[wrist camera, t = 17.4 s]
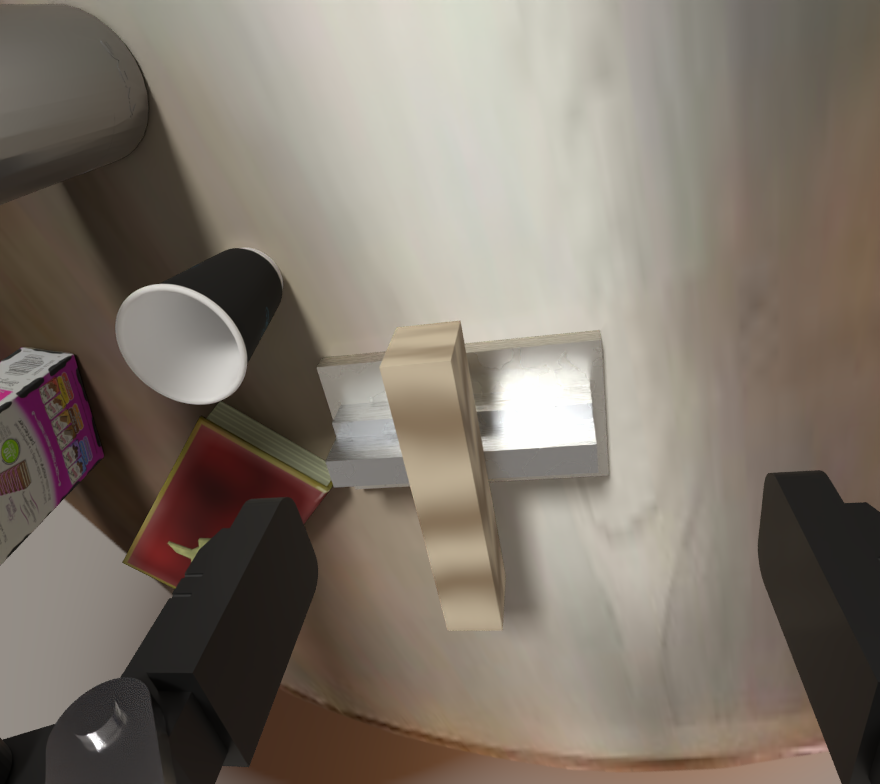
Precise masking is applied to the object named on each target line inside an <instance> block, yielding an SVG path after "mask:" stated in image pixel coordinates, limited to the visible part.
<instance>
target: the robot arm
mask: <svg viewBox="0 0 880 784" xmlns="http://www.w3.org/2000/svg"><path fill="white" fill-rule="evenodd" d="M148 110H149V107H148V97H147V91H146V87H145V84H144V80H143V77H142V74H141V72H140V70H139V67H138V65H137V63H136V61H135V59H134V57H133V56H132V54H131V53H130V51H129V50H128V48H127V47H126V45H125V44H124V42H123V41H122V40H121V39H120V38H119V37H118V36H117V35H116V34H115V33H114V32H113V31H112V29H111V28H109V27H108V26H107V25H105V24H104V23H103V22H102V21H100V20H99V19H98V18H96V17H95V16H93V15H91V14H89V13H87V12H85V11H83V10H81V9H79V8H75V7H71V6H68V5H59V4H0V205H1V204H4V203H7V202H9V201H12V200H14V199H17V198H20V197H22V196H25V195H28V194H30V193H33V192H35V191H38V190H41V189H43V188H46V187H49V186H51V185H54V184H56V183H59V182H62V181H64V180H67V179H69V178H72V177H75V176H77V175H80V174H83V173H86V172H88V171H91V170H94V169H96V168H99V167H102V166H104V165H107V164H109V163H112V162H115V161H117V160H119V159H121V158H123V157H125V156H127V155H128V154H130V153H131V152H132V151H133V150H134V149H135V148H136V147H137V146H138V144H139V142H140V141H141V139H142V138H143V135H144V132H145V129H146V126H147V122H148ZM758 558H759V565H760V570H761V575H762V578H763V582H764V585H765V587H766V590H767V592H768V595H769V598H770V600H771V603H772V605H773V608H774V610H775V613H776V616H777V618H778V621H779V623H780V626H781V629H782V631H783V634H784V636H785V639H786V641H787V644H788V647H789V649H790V652H791V654H792V657H793V659H794V662H795V665H796V667H797V670H798V672H799V675H800V677H801V680H802V683H803V685H804V688H805V690H806V693H807V695H808V698H809V701H810V703H811V706H812V708H813V711H814V714H815V716H816V719H817V721H818V724H819V726H820V729H821V732H822V734H823V737H824V739H825V742H826V744H827V747H828V750H829V752H830V755H831V757H832V760H833V762H834V765H835V767H836V770H837V773H838V775H839V778H840V780H841V783H842V784H880V512H879V511H877V510H876V509H875V508H873V507H872V506H871V505H869V504H868V503H867V502H864V503H844V502H843V500H842V499H841V497H840V495H839V494H838V492H837V490H836V489H835V487H834V485H833V484H832V482H831V481H830V479H829V477H828V476H827V475H826V474H825V473H824V472H823V471H820V470H817V471H798V472H779V473H768V474H767V476H766V478H765V482H764V491H763V500H762V510H761V519H760V528H759V538H758ZM317 579H318V565H317V559H316V555H315V553H314V550H313V547H312V545H311V542H310V540H309V537H308V534H307V532H306V529H305V527H304V524H303V521H302V519H301V516H300V514H299V511H298V508H297V506H296V504H295V502H294V501H293V500H292V499H291V498H290V497H279V498H260V499H249V500H248V501H246V502H245V503H244V505H243V506H242V508H241V510H240V512H239V513H238V515H237V517H236V518H235V520H234V522H233V524H232V525H231V527H230V528H222V529H221V530H220V531H219V532H218V533H217V534H216V535H214V536H213V537H212V538H211V539H210V540H209V541H208V542H207V543H206V544H205V545H204V546H203V547H201V548H200V549H199V551H198V552H197V554H196V556H195V557H194V559H193V561H192V562H191V564H190V565H189V567H188V569H187V570H186V572H185V577H184V578H181V580H180V582H179V583H178V585H177V587H176V588H175V590H174V591H173V593H172V594H173V597H172V598H170V599H169V600H168V601H167V603H166V605H165V606H164V608H163V609H162V611H161V613H160V614H159V616H158V617H157V619H156V621H155V622H154V624H153V626H152V627H151V629H150V630H149V632H148V634H147V635H146V637H145V639H144V640H143V642H142V644H141V645H140V647H139V648H138V650H137V652H136V653H135V655H134V657H133V658H132V660H131V662H130V663H129V665H128V666H127V668H126V670H125V671H124V673H123V674H122V676H121V677H120V678H117V679H112V680H109V681H106V682H104V683H101V684H99V685H97V686H95V687H94V688H92V689H90V690H89V691H87V692H86V693H84V694H83V695H81V696H80V697H79V698H78V699H77V700H75V701H74V702H73V703H72V704H71V705H70V706H69V707H68V708H67V709H66V710H65V712H64V713H63V714H62V715H61V717H60V718H59V719H58V721H57V722H56V724H53V725H50V726H46V727H43V728H40V729H37V730H33V731H30V732H27V733H23V734H20V735H17V736H13V737H10V738H7V739H3V740H2V739H1V738H0V784H215V782H216V780H217V777H218V775H219V772H220V770H221V768H222V766H238V767H240V766H241V767H249V765H250V763H251V760H252V758H253V755H254V752H255V750H256V747H257V744H258V741H259V739H260V736H261V734H262V731H263V728H264V726H265V723H266V720H267V718H268V715H269V712H270V710H271V707H272V704H273V702H274V699H275V696H276V694H277V691H278V688H279V686H280V683H281V680H282V678H283V675H284V672H285V670H286V667H287V665H288V662H289V659H290V657H291V654H292V651H293V649H294V646H295V643H296V641H297V638H298V635H299V633H300V630H301V627H302V625H303V622H304V619H305V617H306V614H307V611H308V609H309V606H310V603H311V601H312V598H313V595H314V593H315V590H316V585H317Z"/></svg>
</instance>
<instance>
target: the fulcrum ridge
mask: <svg viewBox="0 0 880 784" xmlns="http://www.w3.org/2000/svg"><path fill="white" fill-rule="evenodd" d="M465 350H466V355H467V361H468V367H469V372H470V378H471V384H472V389H473V395H474V400H475V406H476V412H477V417H478V423H479V429H480V434H481V440H482V445H483V451H484V457H485V462H486V468H487V474H488V479H489V482H499V481H518V480H536V479H554V478H573V477H591V476H609V468H608V450H607V431H606V412H605V393H604V375H603V356H602V339H601V334H600V330H595V331H585V332H575V333H565V334H555V335H545V336H535V337H525V338H516V339H506V340H496V341H486V342H476V343H466V344H465ZM385 353H386V352H376V353H366V354H356V355H346V356H336V357H326V358H322V359H321V361H320V362H319V364H318V366H317V367H316V368H317V371H318V374H319V377H320V380H321V383H322V386H323V390H324V393H325V396H326V399H327V402H328V405H329V408H330V412H331V415H332V418H333V422H332V425H333V428H334V431H335V434H336V439H335V442H334V444H333V446H332V448H331V450H330V452H329V455H328V457H327V459H326V461H325V462H326V465H327V468H328V471H329V474H330V477H331V480H332V483H333V486H334V487H352V486H354V487H355V489H371V488H389V487H407V486H410V484H409V480H408V476H407V472H406V468H405V464H404V461H403V457H402V453H401V449H400V445H399V441H398V438H397V434H396V430H395V426H394V422H393V418H392V414H391V411H390V407H389V403H388V399H387V395H386V391H385V388H384V384H383V380H382V376H381V372H380V368H379V367H380V365H381V363H382V360H383V358H384V356H385Z"/></svg>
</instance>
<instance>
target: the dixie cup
mask: <svg viewBox="0 0 880 784" xmlns="http://www.w3.org/2000/svg"><path fill="white" fill-rule="evenodd" d="M282 290H283V279H282V275H281V272H280V270H279V268H278V266H277V265H276V263H275V262H274V261H273V260H272V259H271V258H270V257H269V256H267V255H266V254H265V253H263V252H261V251H259V250H256V249H253V248H233V249H229V250H226V251H223V252H221V253H219V254H217V255H215V256H213V257H211V258H210V259H208V260H206V261H204V262H202V263H200V264H198V265H196V266H194V267H192V268H190V269H188V270H186V271H184V272H182V273H180V274H178V275H176V276H174V277H172V278H170V279H168V280H166V281H164V282H162V283H160V284H155V285H149V286H146V287H143V288H140V289H138V290H136V291H135V292H133V293H132V294H131V295H129V296H128V297H127V298H126V299H125V301H124V302H123V303H122V305H121V307H120V309H119V311H118V314H117V318H116V325H115V331H116V338H117V343H118V346H119V349H120V351H121V353H122V355H123V357H124V359H125V361H126V362H127V364H128V365H129V367H130V368H131V369H132V371H133V372H134V373H135V374H136V375H137V376H138V377H139V378H140V379H141V380H142V381H143V382H144V383H145V384H146V385H148V386H149V387H150V388H152V389H153V390H155V391H156V392H158V393H160V394H162V395H163V396H166V397H168V398H170V399H173V400H175V401H179V402H182V403H187V404H195V405H204V404H212V403H216V402H219V401H221V400H223V399H225V398H227V397H229V396H230V395H232V394H233V393H234V392H235V391H236V390H237V389H238V388H239V386H240V385H241V383H242V381H243V379H244V376H245V373H246V369H247V363H248V361H249V360H250V358H251V356H252V354H253V352H254V350H255V348H256V347H257V345H258V343H259V341H260V339H261V337H262V336H263V334H264V332H265V330H266V328H267V326H268V324H269V323H270V321H271V319H272V317H273V315H274V313H275V312H276V310H277V308H278V306H279V304H280V302H281V298H282Z"/></svg>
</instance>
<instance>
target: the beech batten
mask: <svg viewBox="0 0 880 784" xmlns="http://www.w3.org/2000/svg"><path fill="white" fill-rule="evenodd" d="M379 368H380V372H381V376H382V380H383V384H384V388H385V391H386V395H387V399H388V403H389V407H390V411H391V414H392V418H393V422H394V426H395V430H396V434H397V438H398V441H399V445H400V449H401V453H402V457H403V461H404V464H405V468H406V472H407V476H408V480H409V484H410V488H411V491H412V495H413V499H414V503H415V507H416V511H417V514H418V518H419V522H420V526H421V530H422V534H423V538H424V541H425V545H426V549H427V553H428V557H429V561H430V565H431V568H432V572H433V576H434V580H435V584H436V588H437V591H438V595H439V599H440V603H441V607H442V611H443V615H444V618H445V622H446V626H447V630H448V631H490V630H503V616H504V598H505V580H506V575H505V569H504V564H503V558H502V552H501V547H500V541H499V536H498V530H497V524H496V519H495V513H494V507H493V502H492V496H491V491H490V485H489V479H488V474H487V468H486V462H485V457H484V451H483V445H482V440H481V434H480V429H479V423H478V417H477V412H476V406H475V400H474V395H473V389H472V384H471V378H470V372H469V367H468V361H467V355H466V350H465V344H464V338H463V333H462V327H461V322H460V321H452V322H443V323H434V324H425V325H416V326H406V327H397V328H396V330H395V332H394V335H393V337H392V339H391V342H390V344H389V346H388V349H387V351H386V353H385V356H384V358H383V360H382V363H381V365H380V367H379Z"/></svg>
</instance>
